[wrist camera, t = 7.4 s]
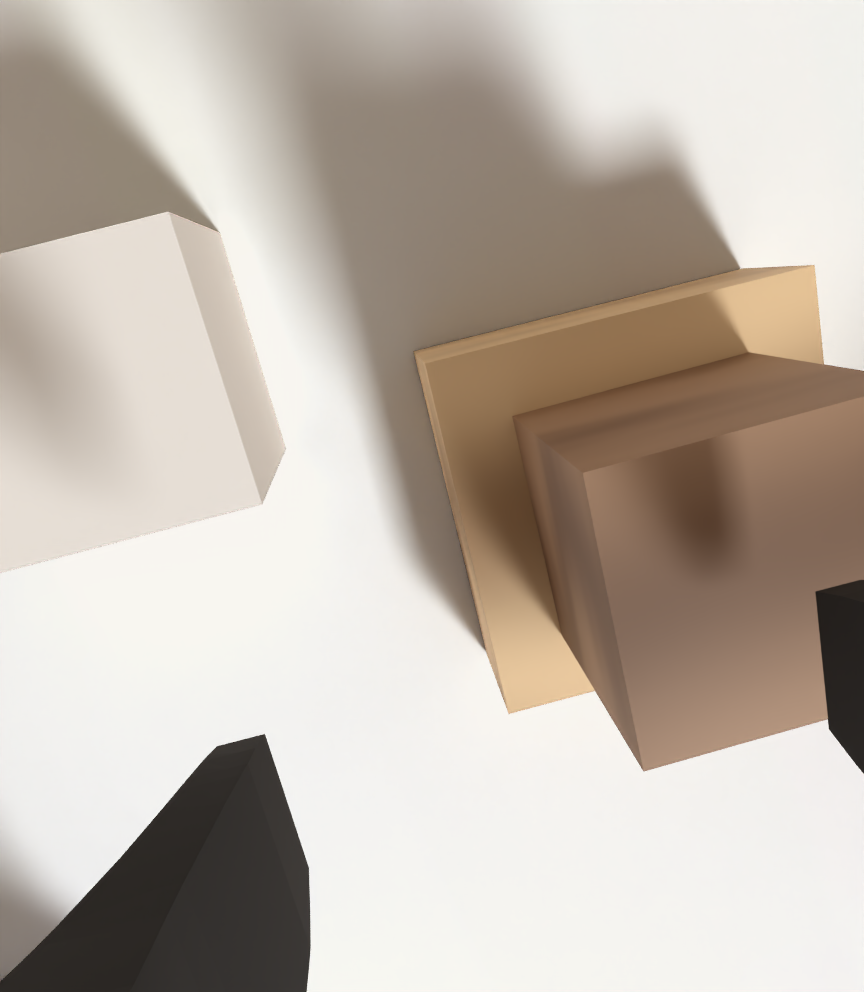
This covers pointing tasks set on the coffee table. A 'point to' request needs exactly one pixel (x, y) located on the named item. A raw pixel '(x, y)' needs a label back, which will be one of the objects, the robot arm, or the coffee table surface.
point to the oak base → (563, 377)
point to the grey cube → (126, 390)
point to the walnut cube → (701, 543)
